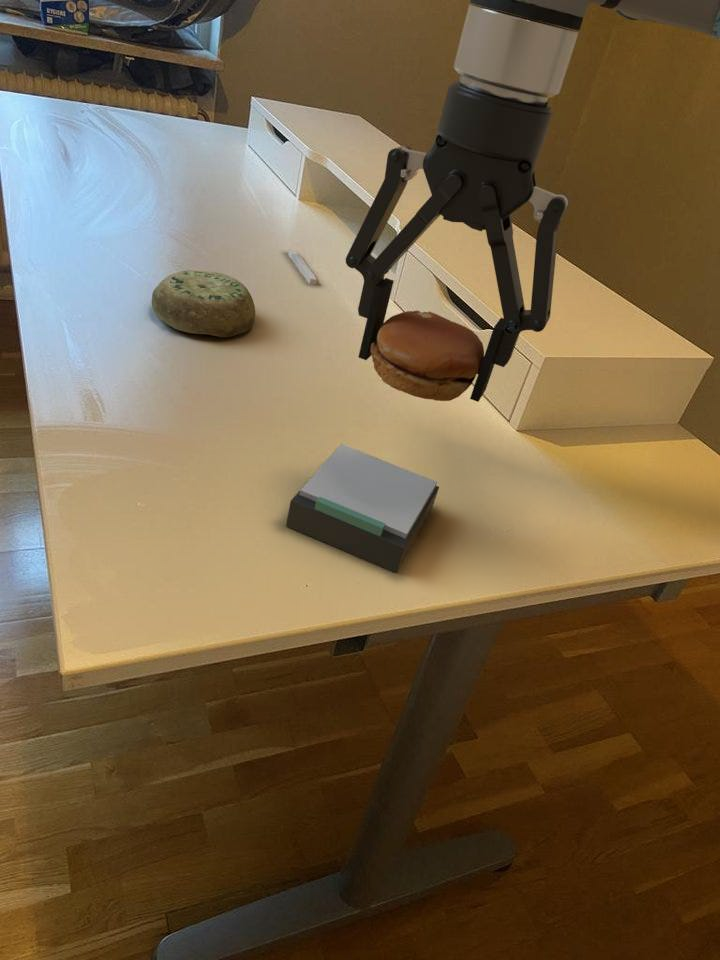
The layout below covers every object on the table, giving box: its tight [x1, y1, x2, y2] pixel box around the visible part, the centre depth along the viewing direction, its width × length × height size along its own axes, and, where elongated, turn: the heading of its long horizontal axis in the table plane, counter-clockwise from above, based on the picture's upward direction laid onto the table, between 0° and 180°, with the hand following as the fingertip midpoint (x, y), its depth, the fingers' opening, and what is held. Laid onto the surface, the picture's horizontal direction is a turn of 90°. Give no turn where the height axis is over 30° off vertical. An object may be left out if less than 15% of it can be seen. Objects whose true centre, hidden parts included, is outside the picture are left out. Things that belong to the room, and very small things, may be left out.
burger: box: [370, 309, 485, 402], centre depth 63 cm, size 10×9×5 cm
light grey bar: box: [287, 249, 318, 286], centre depth 122 cm, size 12×1×1 cm, turn 20°
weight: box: [151, 269, 256, 338], centre depth 98 cm, size 14×13×5 cm
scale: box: [285, 443, 440, 574], centre depth 70 cm, size 11×11×4 cm
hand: (422, 373), depth 64 cm, fingers closed on burger, 10 cm apart
